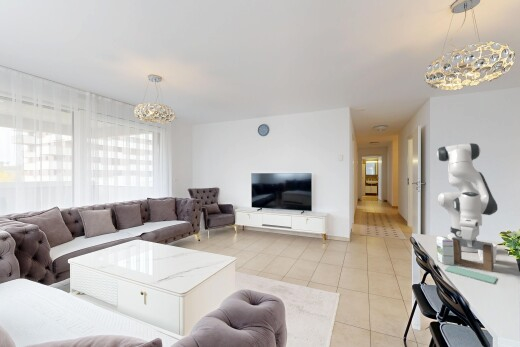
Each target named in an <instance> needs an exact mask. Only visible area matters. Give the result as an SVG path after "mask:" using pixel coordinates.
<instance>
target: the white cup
mask: <svg viewBox="0 0 520 347" xmlns="http://www.w3.org/2000/svg"><path fill="white" fill-rule="evenodd" d="M492 245H493V264H496V261H497V248H498V246H497V244H495V243H492ZM477 254H478V259H479V261H481V262H483V250H478V252H477Z"/></svg>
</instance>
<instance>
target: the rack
mask: <svg viewBox="0 0 520 347" xmlns="http://www.w3.org/2000/svg"><path fill="white" fill-rule="evenodd" d="M492 248H493V245H492ZM453 250H454V264H458V265H461V264H462V265H463V266H465V265H466V266H465V267H469V268H474V269H478V270H483V271H486V272H490V273H492V271H493V269H495V267H494V263H493V251H492V252H491V247H490V246H485V245H483V261H482V263H481V262H477V261H473V260H469V259H464V258H462V251H461V246H459V241H457V240H453Z"/></svg>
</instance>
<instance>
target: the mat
mask: <svg viewBox="0 0 520 347" xmlns="http://www.w3.org/2000/svg"><path fill="white" fill-rule="evenodd" d="M444 271H445V272H448V273H451V274H456V275H458V274H459V276H462V275H463V276H462V277H467V278H469V277H470V279H473V278H474V279H473V280H476V281H480V282H485V283H488V284H492V285H495V283H496V282H497V279H498V277H496V276H492V275H490V274H487V273H486V274H485V273H481V272H478V271H473V270H471V269H466V268H462V267H458V266H455V265H448V266H447V267H446V268H445V269H444Z"/></svg>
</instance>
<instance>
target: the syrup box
mask: <svg viewBox="0 0 520 347" xmlns="http://www.w3.org/2000/svg"><path fill="white" fill-rule="evenodd" d="M436 252H437V254H436V256H437V257H436V258H437V259H436V260H437V261H438V262H439V263H441V264H442V265H448V266H450V265H451V266H455V263H454V250H453V240H452V239H450V238H448V236H436Z"/></svg>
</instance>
